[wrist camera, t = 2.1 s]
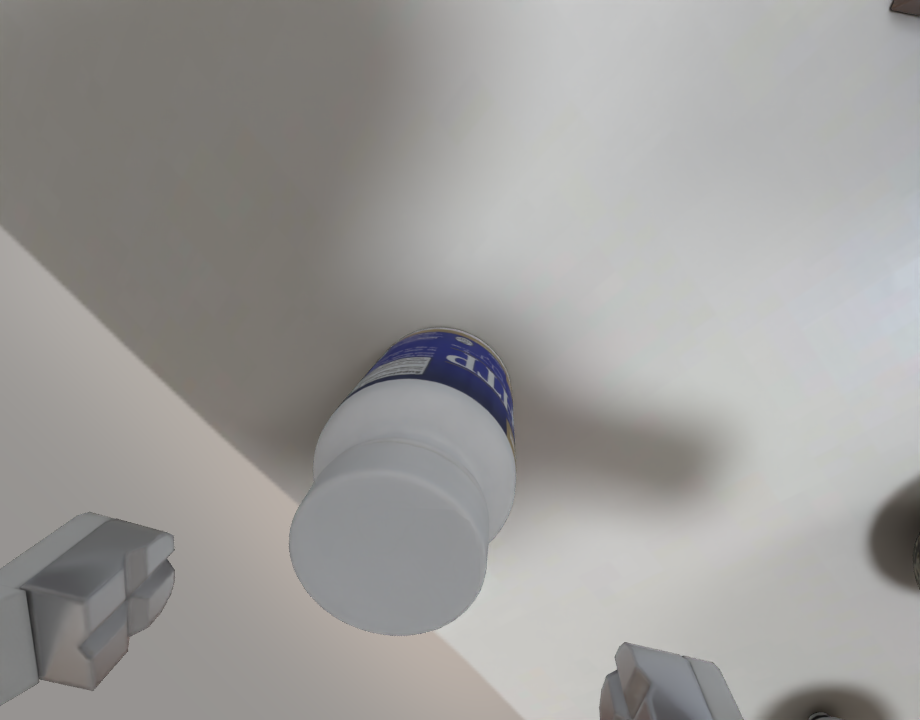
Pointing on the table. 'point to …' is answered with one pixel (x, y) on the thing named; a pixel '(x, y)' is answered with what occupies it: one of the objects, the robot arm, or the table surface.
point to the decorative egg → (917, 560)
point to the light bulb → (822, 717)
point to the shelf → (907, 6)
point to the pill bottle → (410, 487)
